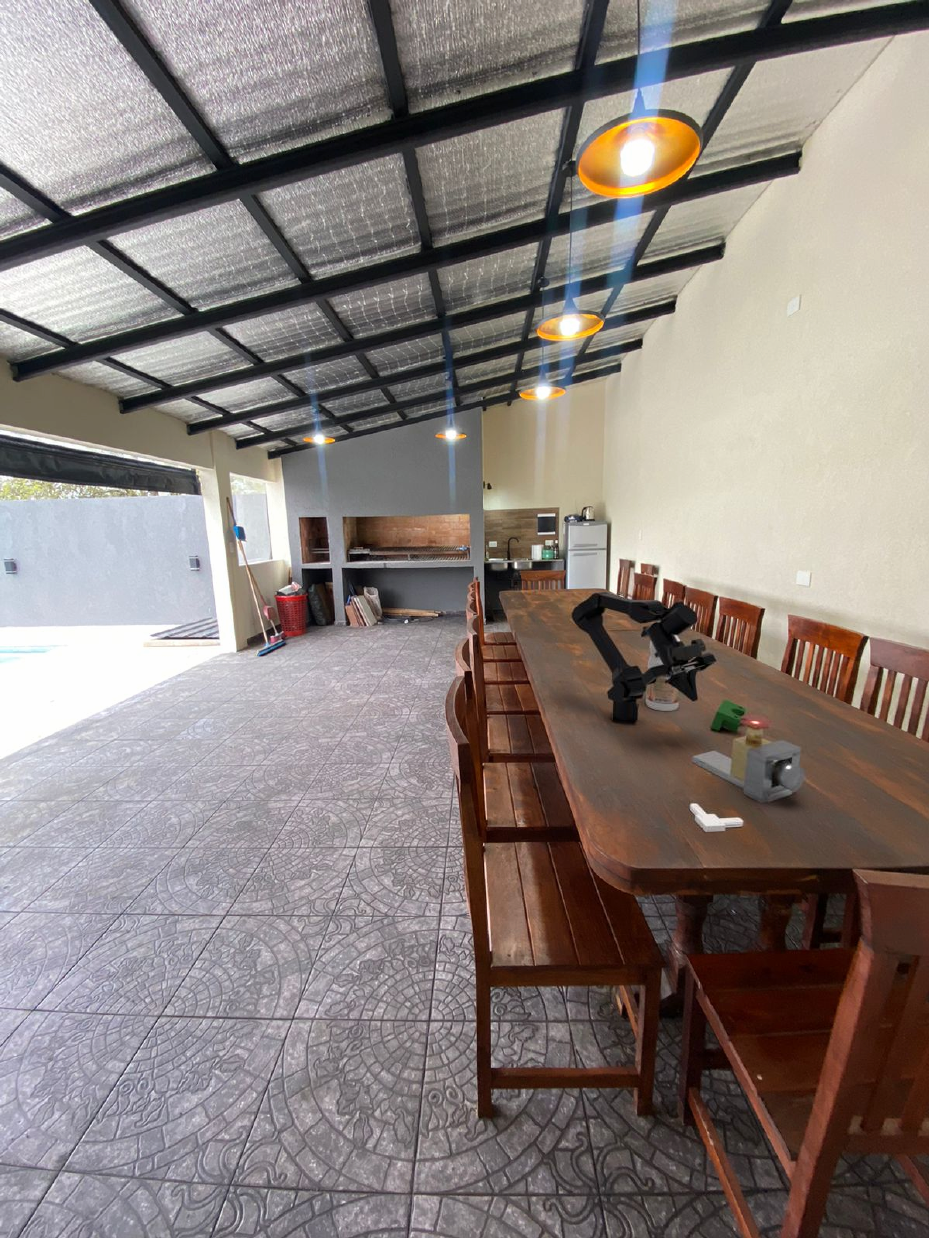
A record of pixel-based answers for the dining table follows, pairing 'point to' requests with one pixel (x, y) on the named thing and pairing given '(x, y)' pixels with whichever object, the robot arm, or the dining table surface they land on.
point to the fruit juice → (661, 688)
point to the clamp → (728, 716)
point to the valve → (748, 743)
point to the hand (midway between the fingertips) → (695, 700)
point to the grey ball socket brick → (761, 770)
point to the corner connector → (713, 820)
